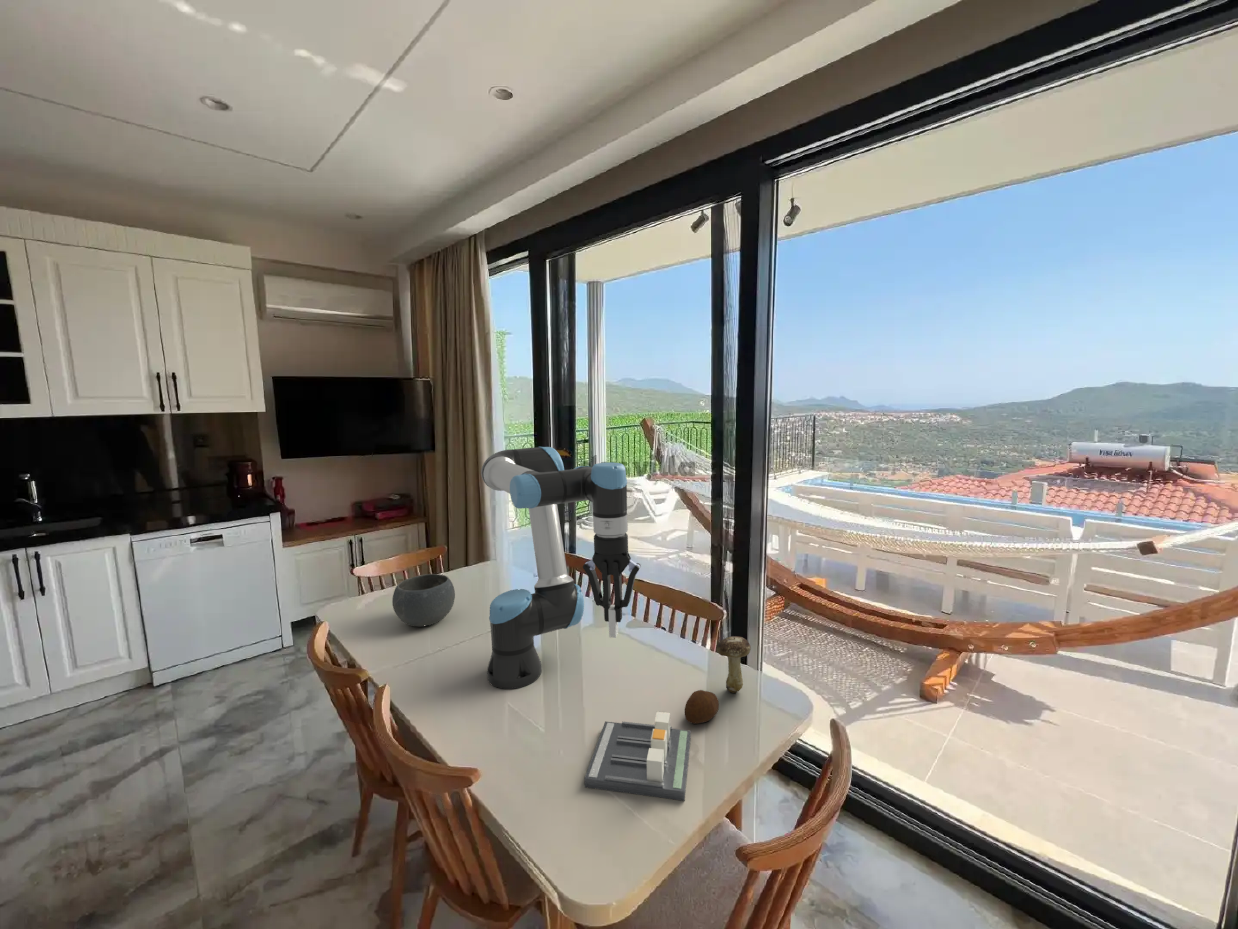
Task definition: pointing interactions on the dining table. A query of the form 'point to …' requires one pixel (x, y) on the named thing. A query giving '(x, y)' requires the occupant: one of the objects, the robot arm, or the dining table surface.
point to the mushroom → (734, 660)
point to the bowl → (423, 599)
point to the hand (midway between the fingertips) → (613, 634)
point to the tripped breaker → (659, 740)
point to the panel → (638, 761)
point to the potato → (701, 706)
